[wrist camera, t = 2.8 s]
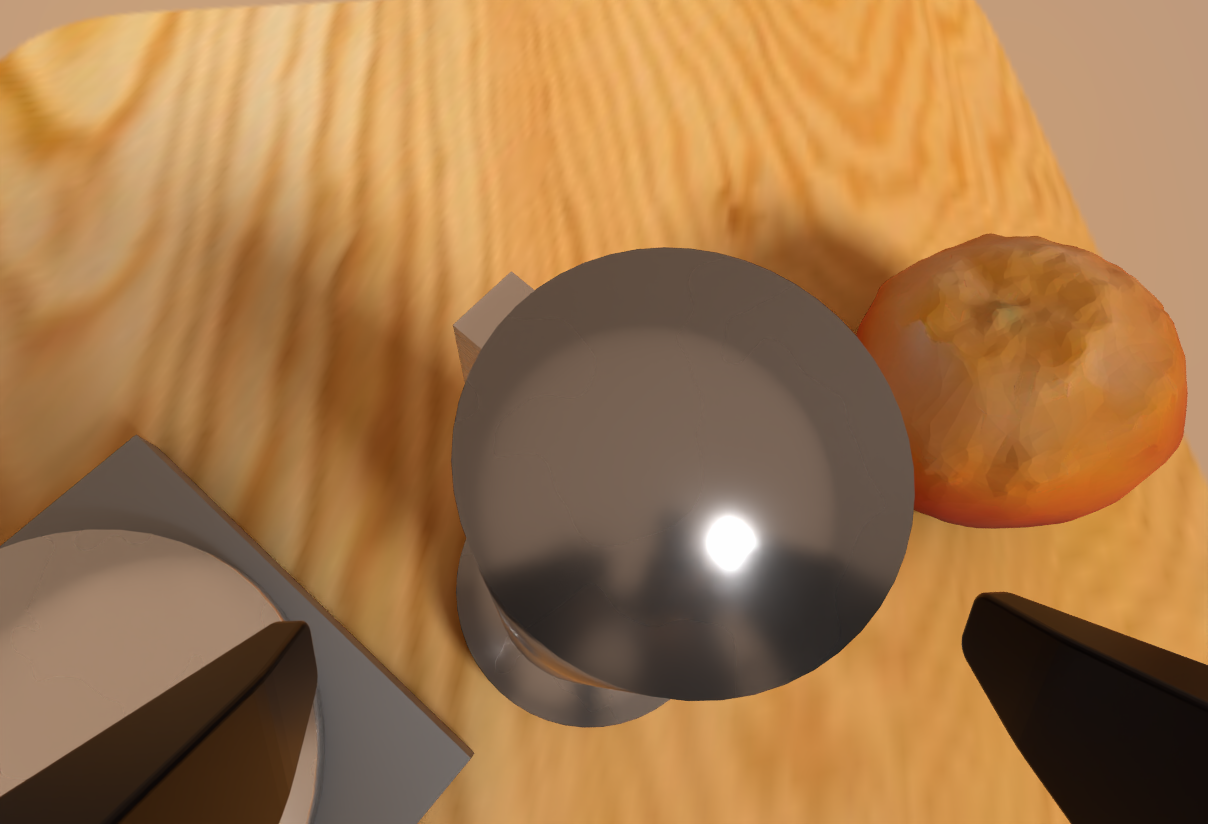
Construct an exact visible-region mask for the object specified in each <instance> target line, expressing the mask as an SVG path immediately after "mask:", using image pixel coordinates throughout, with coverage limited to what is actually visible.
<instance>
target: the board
mask: <svg viewBox="0 0 1208 824" xmlns="http://www.w3.org/2000/svg"><path fill="white" fill-rule="evenodd" d="M80 530H127V531H134V532H142V533H150V534H154V535H158V536H161V537H165V538H169V539H173V540H176V541H180V542H183V543H185V544H188V545H190V546H193V547H196V548H198V549H200V550H203V551H205V552H207V553H210V554H212V555H214V556H217V557H219V558H221V559H223V560H224V561H226V562H228V563H229V564H231V565H233V566H234V567H236V568H237V569H239V570H241V571H242V572H244V573H245V574H246V575H248V576H249V577H250V578H251V579H252V580H254V581H255V582H256V583H257V584H258V585H260V586H261V587H262V588H263V589H264V590H265V591H266V592H267V593H268V594H269V595H270V596H271V597H272V599H273V600H274V601H275V602H276V603H277V604H278V605H279V606H280V608H281V609H282V610H283V611H284V612H285V614H286V615H287V617H288V619H289V620H290V621H305V622H306V623H307V624H308V625H309V628H310V631H311V636H312V642H313V647H314V653H315V659H316V664H317V673H318V678H317V683H318V687H319V690H320V695H321V702H322V709H323V716H324V722H325V763H324V772H323V781H322V791H321V795H320V800H319V804H318V808H317V813H316V817H315V822H314V824H417V823H418V822H419V820H420V819H421V818H422V817H423V816H424V814H425V813H426V812H427V811H428V810H429V808H430V807H431V806H432V805H433V804H434V802H435V801H436V800H437V799H438V798H439V796H440V795H441V794H442V793H443V791H444V790H445V789H446V788H447V787H448V785H449V784H450V783H451V782H452V781H453V779H454V778H455V777H456V776H457V775H458V773H459V772H460V771H461V770H462V769H463V767H464V766H465V765H466V764H467V762H468V761H469V760H470V759H471V757H472V756H473V754H474V752H473V751H472V750H471V749H470V748H469V747H468V746H466V745H465V744H464V743H463V742H462V741H461V740H460V739H459V738H458V737H457V736H456V735H455V734H454V733H453V732H452V731H451V730H450V729H449V728H448V727H447V726H446V725H445V724H444V723H443V722H442V721H441V720H440V719H438V718H437V717H436V716H435V715H434V714H433V713H432V712H431V711H430V710H429V709H428V708H427V707H426V706H425V705H424V704H423V703H422V702H421V701H420V700H419V699H418V698H417V697H416V696H415V695H414V694H413V693H412V692H411V691H409V690H408V689H407V688H406V687H405V686H404V685H403V684H402V683H401V682H400V681H399V680H398V679H397V678H396V677H395V676H394V675H393V674H392V673H391V672H390V671H389V670H388V669H387V668H386V667H385V666H384V665H383V664H381V663H380V662H379V661H378V660H377V659H376V658H375V657H374V656H373V655H372V654H371V653H370V652H369V651H368V650H367V649H366V648H365V647H364V646H363V645H362V644H361V643H360V642H359V641H358V640H357V639H356V638H355V637H353V636H352V635H351V634H350V633H349V632H348V631H347V630H346V629H345V628H344V627H343V626H342V625H341V624H340V623H339V622H338V621H337V620H336V619H335V618H334V617H333V616H332V615H331V614H330V613H329V612H328V611H327V610H325V609H324V608H323V607H322V606H321V605H320V604H319V603H318V602H317V601H316V600H315V599H314V598H313V597H312V596H311V595H310V594H309V593H308V592H307V591H306V590H305V589H304V588H303V587H302V586H301V585H300V584H299V583H298V582H296V581H295V580H294V579H293V578H292V577H291V576H290V575H289V574H288V573H287V572H286V571H285V570H284V569H283V568H282V567H281V566H280V565H279V564H278V563H277V562H276V561H275V560H274V559H273V558H272V557H271V556H270V555H268V554H267V553H266V552H265V551H264V550H263V549H262V548H261V547H260V546H259V545H258V544H257V543H256V542H255V541H254V540H253V539H252V538H251V537H250V536H249V535H248V534H247V533H246V532H245V531H244V530H243V529H242V528H240V527H239V526H238V525H237V524H236V523H235V522H234V521H233V520H232V519H231V518H230V517H229V516H228V515H227V514H226V513H225V512H224V511H223V510H222V509H221V508H220V507H219V506H218V505H217V504H216V503H215V502H214V501H212V500H211V499H210V498H209V497H208V496H207V495H206V494H205V493H204V492H203V491H202V490H201V489H200V488H199V487H198V486H197V485H196V484H195V483H194V482H193V481H192V480H191V479H190V478H189V477H188V476H187V475H186V474H185V473H183V472H182V471H181V470H180V469H179V468H178V467H177V466H176V465H175V464H174V463H173V462H172V461H171V460H170V459H169V458H168V457H167V456H166V455H165V454H164V453H163V452H162V451H161V450H160V449H159V448H157V447H156V446H154V445H152V444H151V443H149V442H147V441H146V440H144V439H143V438H141V437H139V436H138V435H135V436H134V437H133V438H131V439H130V440H129V441H128V442H126V443H125V444H124V445H123V446H122V447H120V448H119V449H118V450H117V451H115V452H114V453H113V454H112V455H111V456H109V457H108V458H107V459H106V460H105V461H103V462H102V463H101V464H100V465H98V466H97V467H96V468H95V469H94V470H92V471H91V472H90V473H89V474H87V475H86V476H85V477H84V478H83V479H81V480H80V481H79V482H78V483H77V484H75V485H74V486H73V487H72V488H70V489H69V490H68V491H67V492H66V493H64V494H63V495H62V496H61V497H60V498H58V499H57V500H56V501H55V502H53V503H52V504H51V505H50V506H49V507H47V508H46V509H45V510H44V511H42V512H41V513H40V514H39V515H38V516H36V517H35V518H34V519H33V520H32V521H30V522H29V523H28V524H27V525H25V526H24V527H23V528H22V529H21V530H19V531H18V532H17V533H16V534H15V535H13V536H12V537H11V538H10V539H8V540H7V541H6V542H5V543H4V544H2V545H1V546H0V548H3V547H6V546H9V545H12V544H15V543H18V542H20V541H24V540H29V539H33V538H37V537H42V536H46V535H50V534H54V533H63V532H71V531H80Z"/></svg>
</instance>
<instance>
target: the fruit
mask: <svg viewBox="0 0 1208 824" xmlns="http://www.w3.org/2000/svg"><path fill="white" fill-rule="evenodd" d="M856 336H857V337H858V339H859V340H860V341H861V343H862V344H863V345H864V347H865V348H866V349H867V351H868V352H869V353H870V355H871V356H872V357H873V359H874V360H875V362H876V363H877V365H878V367H879V368H880V370H881V372H882V374H883V375H884V377H885V379H886V380H887V382H888V384H889V386H890V388H891V390H892V393H893V395H894V397H895V400H896V402H897V404H898V406H899V409H900V411H901V414H902V418H903V421H904V424H905V428H906V431H907V434H908V437H909V443H910V449H911V454H912V460H913V466H914V489H915V499H914V510H916V511H918V512H920V513H923V514H926V515H929V516H932V517H934V518H937V519H939V520H941V521H944V522H948V523H952V524H956V525H962V526H966V527H974V528H1020V527H1033V526H1042V525H1050V524H1059V523H1064V522H1068V521H1071V520H1074V519H1077V518H1080V517H1082V516H1085V515H1088V514H1090V513H1093V512H1096V511H1098V510H1100V509H1102V508H1104V507H1107V506H1109V505H1111V504H1113V503H1115V502H1117V501H1118V500H1119V499H1121V498H1122V497H1124V496H1125V495H1126V494H1127V493H1129V492H1130V491H1131V490H1132V489H1134V488H1135V487H1136V486H1137V485H1138V484H1140V483H1141V482H1142V481H1143V480H1145V479H1146V478H1147V477H1148V476H1150V475H1151V474H1152V473H1153V472H1154V471H1156V470H1157V469H1158V468H1159V467H1160V466H1162V465H1163V464H1164V463H1165V462H1166V461H1167V460H1168V459H1169V458H1170V457H1171V455H1172V454H1173V453H1174V452H1175V451H1176V449H1177V448H1178V447H1179V445H1180V442H1181V440H1182V438H1183V433H1184V426H1185V417H1186V406H1187V394H1188V393H1187V381H1186V360H1185V355H1184V352H1183V349H1182V347H1181V344H1180V341H1179V338H1178V334H1177V332H1176V328H1175V326H1174V323H1173V321H1172V320H1171V318H1170V317H1169V315H1168V313H1166V312H1165V311H1164V307H1163V305H1162V304H1161V303H1160V302H1159V301H1158V300H1157V298H1156V297H1155V296H1154V295H1152V294H1151V293H1150V292H1149V291H1148V290H1147V289H1146V288H1145V287H1144V286H1143V285H1141V283H1140V282H1139V281H1138V280H1137V279H1136V278H1134V277H1133V276H1131V275H1129V274H1128V273H1126V272H1125V271H1124V270H1123V269H1122V268H1120V267H1119V266H1117V265H1115V264H1112V263H1110V262H1108V261H1106V260H1104V259H1103V258H1101V257H1099V256H1098V255H1096V254H1093V253H1092V252H1089V251H1086V250H1084V249H1080V248H1078V247H1074V246H1069V245H1062V244H1059V243H1055V242H1052V241H1049V240H1047V239H1044V238H1042V237H1038V236H1030V237H1003V236H1000V235H996V234H985V235H982V236H980V237H978V238H975V239H972V240H970V241H967V242H965V243H963V244H960V245H957V246H955V247H952V248H948V249H945V250H942V251H940V252H938V253H936V254H934V255H932V256H930V257H928V258H926V259H923V260H921V261H919V262H917V263H915V264H913V265H912V266H910V267H908V268H907V269H905V270H903V271H901V272H900V273H898V274H897V275H895V276H893V277H892V278H890V279H889V280H887V281H886V282H885V283H884V284H883V285H882V286H881V287H880V288H879V290H878V293H877V295H876V298H875V300H874V301H873V303H872V305H871V306H870V308H869V310H868V312H867V313H866V315H865V317H864V318H863V320H862V322H861V324H860V326H859V328H858V331H857V335H856Z"/></svg>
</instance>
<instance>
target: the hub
mask: <svg viewBox="0 0 1208 824" xmlns="http://www.w3.org/2000/svg"><path fill="white" fill-rule="evenodd" d="M453 328H454V332H455V337H456V342H457V347H458V352H459V357H460V362H461V367H462V372H463V377H464V381H465V385H464V388H463V391H462V394H461V397H460V400H459V403H458V408H457V413H456V418H455V423H454V428H453V441H452V458H451V463H452V475H453V488H454V495H455V499H456V504H457V508H458V513H459V517H460V522H461V525H462V528H463V530H464V533H465V536H466V541H465V544H464V547H463V550H462V553H461V556H460V562H459V567H458V573H457V587H456V596H457V609H458V615H459V619H460V624H461V629H462V632H463V634H464V637H465V640H466V643H467V646H468V648H469V650H470V652H471V654H472V656H473V657H474V659H475V661H476V663H477V665H478V666H479V667H480V669H481V670H482V672H483V673H484V675H485V676H486V677H487V679H488V680H489V681H490V682H491V683H492V684H493V685H494V686H495V687H496V688H497V689H498V690H499V692H501V693H502V694H503V695H504V696H506V697H507V698H508V699H509V700H510V701H512V702H513V703H514V704H516V705H517V706H519V707H521V708H522V709H524V710H526V711H527V712H529V713H531V714H533V715H536V716H538V717H540V718H543V719H545V720H548V721H551V722H555V723H559V724H563V725H568V726H576V727H604V726H610V725H616V724H621V723H624V722H627V721H630V720H633V719H637V718H639V717H641V716H643V715H645V714H647V713H649V712H651V711H653V710H655V709H657V708H658V707H659V706H661V705H662V704H664V703H665V702H667V701H668V700H670V699H676V700H684V701H706V700H725V699H731V698H737V697H743V696H749V695H755V694H758V693H761V692H764V691H767V690H770V689H773V688H776V687H779V686H782V685H785V684H787V683H789V682H791V681H793V680H795V679H797V678H799V677H801V676H803V675H805V674H807V673H809V672H811V671H813V670H815V669H816V668H818V667H819V666H820V665H822V664H823V663H825V662H826V661H828V660H829V659H830V658H832V657H833V656H835V655H836V654H838V653H839V652H840V651H841V650H842V649H843V648H844V647H845V646H846V645H847V644H848V643H850V642H851V641H852V640H853V639H854V638H855V637H856V636H857V635H858V634H859V633H860V632H861V631H862V630H863V629H864V627H865V626H866V625H867V623H868V622H869V621H870V619H871V618H872V617H873V616H874V614H875V613H876V612H877V610H878V609H879V608H880V606H881V605H882V603H883V601H884V599H885V598H886V596H887V594H888V592H889V590H890V589H891V587H892V585H893V583H894V581H895V579H896V577H897V574H898V571H899V569H900V566H901V564H902V561H903V558H904V556H905V553H906V549H907V545H908V540H909V536H910V532H911V527H912V521H913V510H914V499H915V489H914V466H913V460H912V454H911V449H910V443H909V437H908V434H907V431H906V428H905V424H904V421H903V418H902V414H901V411H900V409H899V406H898V404H897V402H896V400H895V397H894V395H893V393H892V390H891V388H890V386H889V384H888V382H887V380H886V379H885V377H884V375H883V374H882V372H881V370H880V368H879V367H878V365H877V363H876V362H875V360H874V359H873V357H872V356H871V355H870V353H869V352H868V351H867V349H866V348H865V347H864V345H863V344H862V343H861V341H860V340H859V339H858V337H857V336H856V335H855V334H854V333H853V332H852V331H851V330H850V329H849V328H848V327H847V326H846V325H845V324H844V322H843V321H842V320H841V319H840V318H839V317H838V316H837V315H835V314H834V313H833V312H832V311H831V310H830V309H828V308H827V307H826V306H825V305H824V304H822V303H821V302H820V301H819V300H818V299H816V298H815V297H814V296H812V295H811V294H809V293H808V292H806V291H805V290H803V289H802V288H800V287H799V286H797V285H796V284H794V283H793V282H791V281H789V280H787V279H785V278H783V277H781V276H779V275H777V274H776V273H774V272H772V271H770V270H767V269H765V268H762V267H760V266H757V265H755V264H752V263H750V262H747V261H745V260H741V259H738V258H734V257H731V256H727V255H723V254H720V253H715V252H709V251H702V250H696V249H686V248H650V249H636V250H631V251H626V252H621V253H615V254H610V255H607V256H604V257H601V258H598V259H595V260H591V261H588V262H585V263H583V264H581V265H579V266H576V267H574V268H572V269H570V270H568V271H566V272H563V273H561V274H559V275H558V276H556V277H555V278H553V279H551V280H550V281H548V282H547V283H545V284H543V285H542V286H540V287H539V288H537V289H536V290H533V289H532V288H531V287H530V286H529V285H527V284H526V283H525V282H524V281H522V280H521V279H520V278H519V277H518V276H516V275H515V274H514V273H513V272H510V273H509V274H508V275H507V276H506V277H505V278H504V279H503V280H501V281H500V282H499V283H498V284H497V285H496V286H495V287H494V288H493V289H492V290H491V291H489V292H488V293H487V294H486V295H485V296H484V297H483V298H482V299H481V300H480V301H479V302H477V303H476V304H475V305H474V306H473V307H472V308H471V309H470V310H469V311H468V312H467V313H465V314H464V315H463V316H462V317H461V318H460V319H459V320H458V321H457V322H456V323H455V324H453Z"/></svg>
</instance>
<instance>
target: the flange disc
mask: <svg viewBox="0 0 1208 824" xmlns="http://www.w3.org/2000/svg"><path fill="white" fill-rule="evenodd" d="M278 621H290V620H289V619H288V617H287V615H286V614H285V612H284V611H283V610H282V609H281V608H280V606H279V605H278V604H277V603H276V602H275V601H274V600H273V599H272V597H271V596H270V595H269V594H268V593H267V592H266V591H265V590H264V589H263V588H262V587H261V586H260V585H258V584H257V583H256V582H255V581H254V580H252V579H251V578H250V577H249V576H248V575H246V574H245V573H244V572H242V571H241V570H239V569H237V568H236V567H234V566H233V565H231V564H229V563H228V562H226V561H224V560H223V559H221V558H219V557H217V556H214V555H212V554H210V553H207V552H205V551H203V550H200V549H198V548H196V547H193V546H190V545H188V544H185V543H183V542H180V541H176V540H173V539H169V538H165V537H161V536H158V535H154V534H150V533H142V532H134V531H127V530H80V531H71V532H63V533H54V534H50V535H46V536H42V537H37V538H33V539H29V540H24V541H20V542H18V543H15V544H12V545H9V546H6V547H3V548H0V796H2V795H3V794H5V793H6V792H8V791H10V790H11V789H13V788H14V787H16V786H17V785H19V784H21V783H22V782H24V781H25V780H27V779H28V778H30V777H32V776H33V775H35V774H36V773H38V772H39V771H41V770H43V769H44V768H46V767H47V766H49V765H50V764H52V763H53V762H55V761H57V760H58V759H60V758H61V757H63V756H64V755H66V754H68V753H69V752H71V751H72V750H74V749H75V748H77V747H79V746H80V745H82V744H83V743H85V742H86V741H88V740H90V739H91V738H93V737H94V736H96V735H97V734H99V733H101V732H102V731H104V730H105V729H107V728H108V727H110V726H112V725H113V724H115V723H116V722H118V721H119V720H121V719H123V718H124V717H126V716H127V715H129V714H130V713H132V712H133V711H135V710H137V709H138V708H140V707H141V706H143V705H144V704H146V703H148V702H149V701H151V700H152V699H154V698H155V697H157V696H159V695H160V694H162V693H163V692H165V691H166V690H168V689H170V688H171V687H173V686H174V685H176V684H177V683H179V682H180V681H182V680H184V679H185V678H187V677H188V676H190V675H191V674H193V673H195V672H196V671H198V670H199V669H201V668H202V667H204V666H206V665H207V664H209V663H210V662H212V661H213V660H215V659H217V658H218V657H220V656H221V655H223V654H224V653H226V652H227V651H229V650H231V649H232V648H234V647H235V646H237V645H238V644H240V643H242V642H243V641H245V640H246V639H248V638H249V637H251V636H253V635H254V634H256V633H257V632H259V631H260V630H262V629H264V628H265V627H267V626H268V625H270V624H272V623H274V622H278ZM324 763H325V722H324V716H323V709H322V702H321V695H320V690H319V687H318V683H317V688H316V693H315V697H314V701H313V705H312V709H311V713H310V717H309V721H308V725H307V729H306V733H305V737H304V741H303V745H302V749H301V753H300V757H299V761H298V765H297V769H296V773H295V777H294V780H293V784H292V788H291V791H290V795H289V798H288V801H287V804H286V806H285V809H284V812H283V815H282V817H281V820H280V823H279V824H314V822H315V817H316V813H317V808H318V804H319V800H320V795H321V791H322V781H323V772H324Z"/></svg>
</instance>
